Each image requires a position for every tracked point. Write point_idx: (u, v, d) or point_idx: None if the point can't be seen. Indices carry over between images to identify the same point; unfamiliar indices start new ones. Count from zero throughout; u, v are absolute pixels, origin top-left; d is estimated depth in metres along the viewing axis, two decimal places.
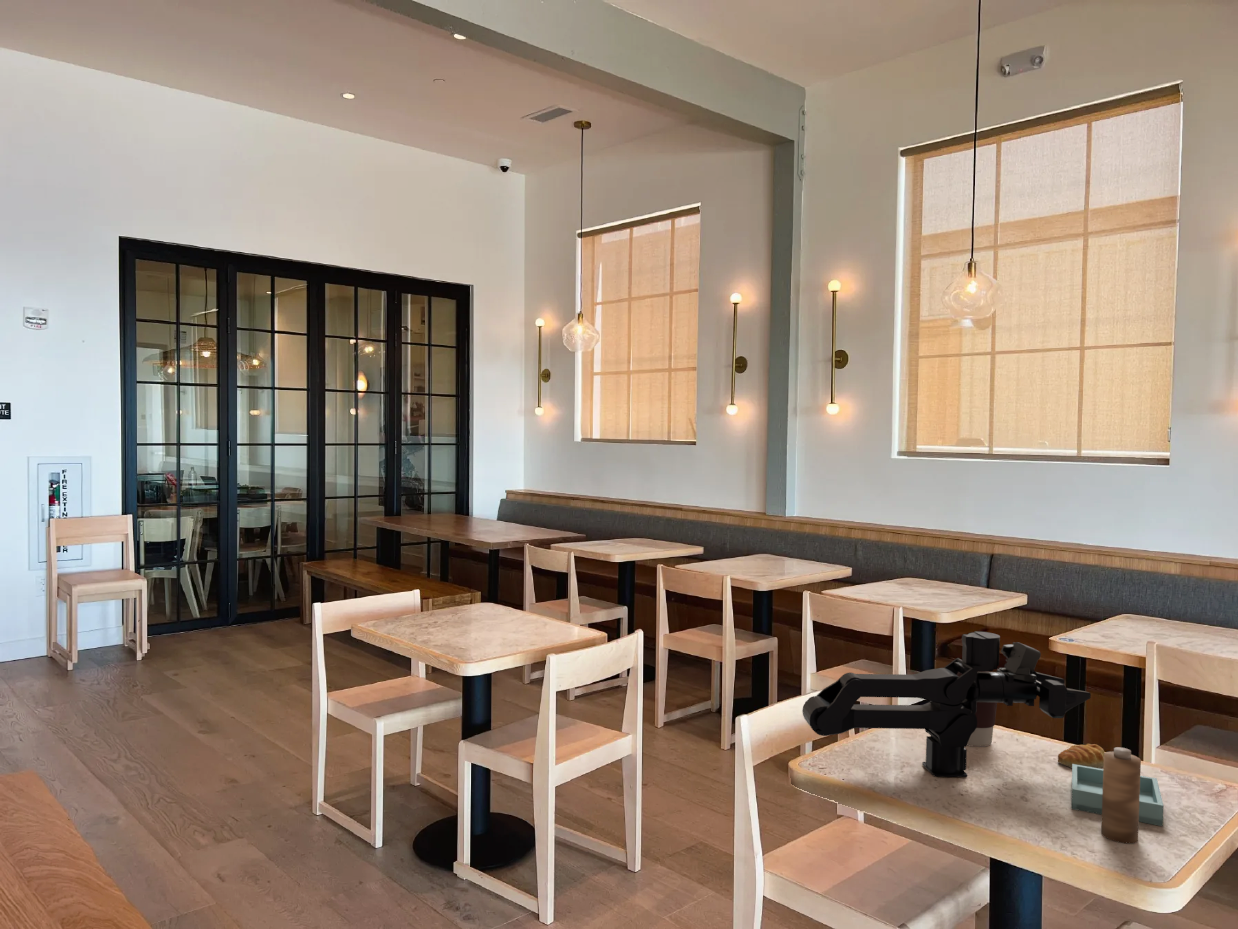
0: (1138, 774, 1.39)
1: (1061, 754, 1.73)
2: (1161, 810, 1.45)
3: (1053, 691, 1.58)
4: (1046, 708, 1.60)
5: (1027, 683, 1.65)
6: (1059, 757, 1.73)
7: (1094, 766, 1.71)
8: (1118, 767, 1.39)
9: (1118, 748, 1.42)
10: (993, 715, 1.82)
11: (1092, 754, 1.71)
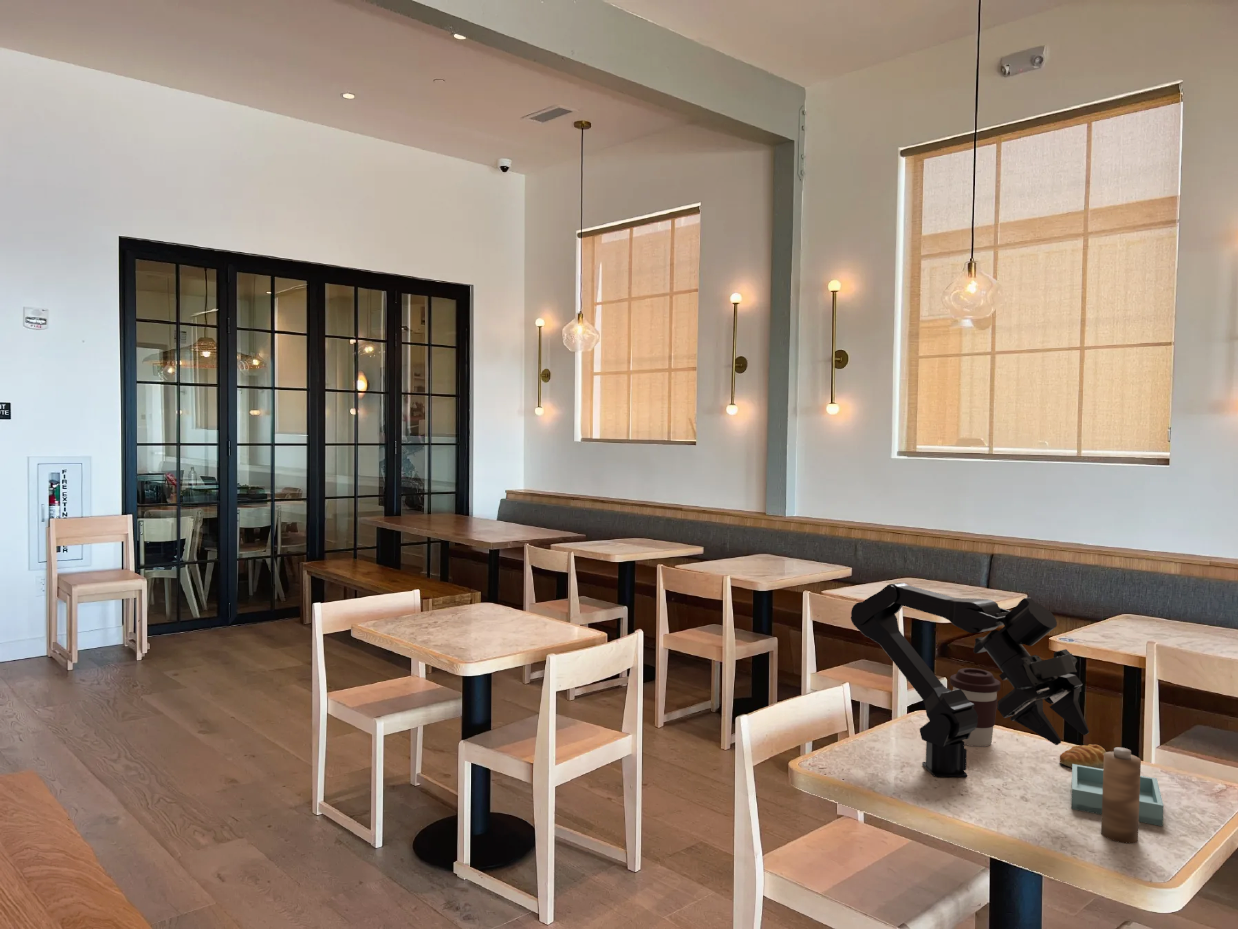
0: (1138, 774, 1.39)
1: (1063, 754, 1.73)
2: (1161, 810, 1.45)
3: (1014, 692, 1.46)
4: None
5: (1029, 680, 1.51)
6: (1061, 758, 1.72)
7: (1096, 767, 1.70)
8: (1118, 767, 1.39)
9: (1118, 748, 1.42)
10: (993, 715, 1.82)
11: (1094, 755, 1.71)
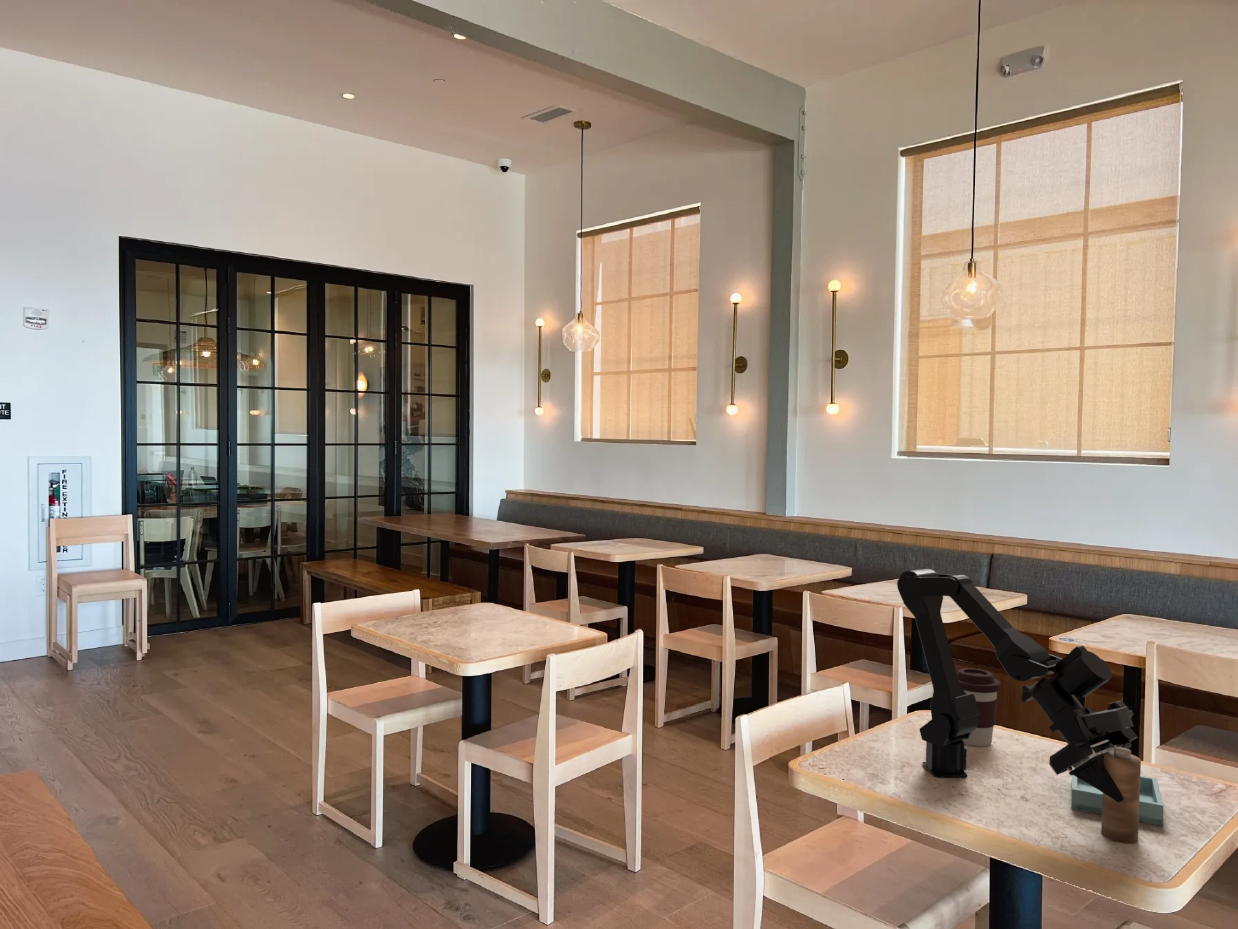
0: (1138, 774, 1.39)
1: None
2: (1161, 810, 1.45)
3: (1068, 748, 1.39)
4: (1054, 754, 1.42)
5: (1082, 734, 1.44)
6: None
7: None
8: (1119, 767, 1.39)
9: (1118, 748, 1.42)
10: (993, 715, 1.82)
11: None
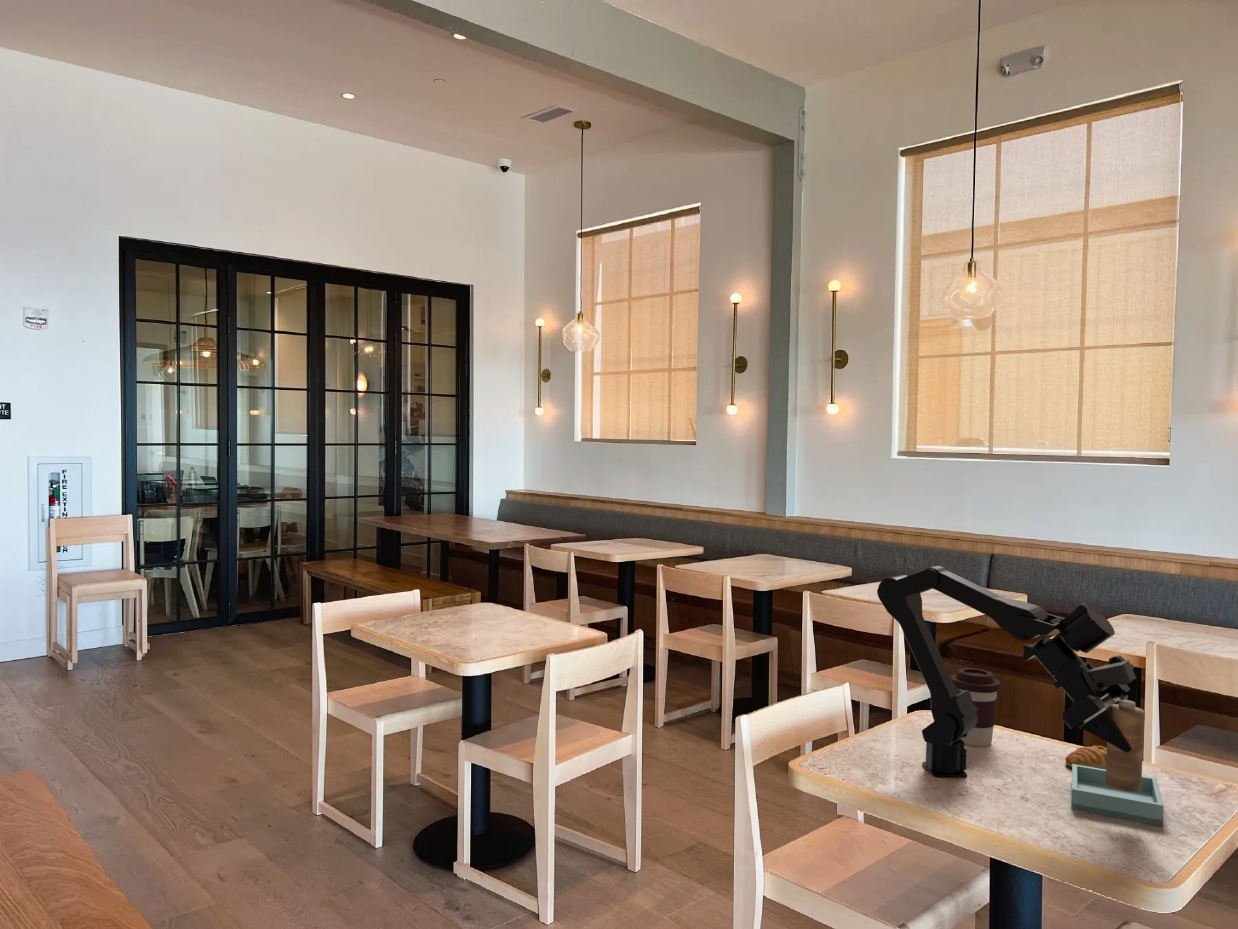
0: (1143, 724, 1.44)
1: (1069, 756, 1.72)
2: (1161, 810, 1.45)
3: (1084, 702, 1.42)
4: (1067, 709, 1.45)
5: (1089, 689, 1.48)
6: (1067, 760, 1.71)
7: (1102, 768, 1.70)
8: (1127, 718, 1.43)
9: (1122, 700, 1.46)
10: (993, 715, 1.82)
11: (1100, 756, 1.70)
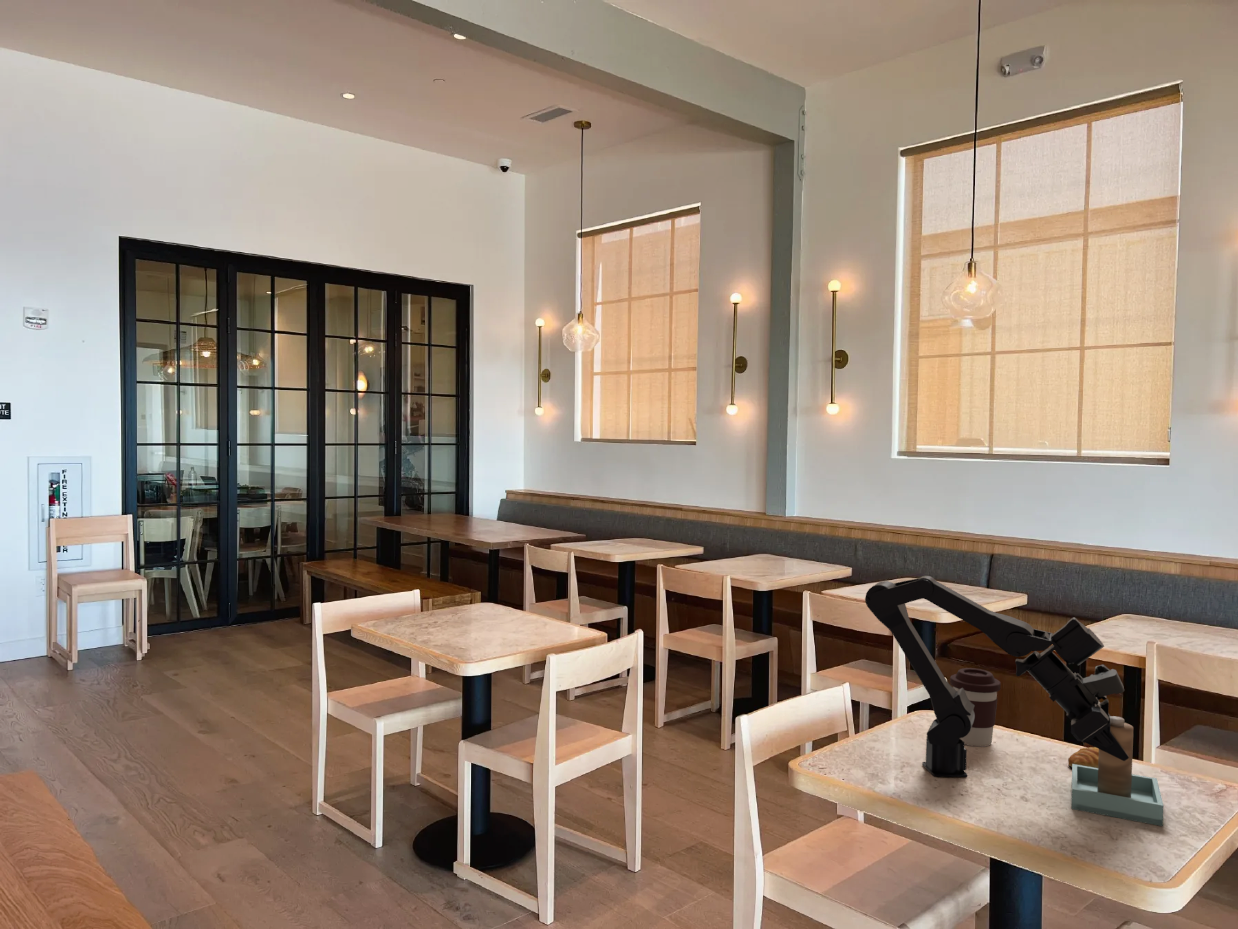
0: (1132, 738, 1.53)
1: (1072, 757, 1.71)
2: (1161, 810, 1.45)
3: (1093, 715, 1.48)
4: (1074, 722, 1.50)
5: (1084, 699, 1.54)
6: (1070, 761, 1.71)
7: None
8: (1121, 735, 1.51)
9: (1111, 717, 1.54)
10: (993, 715, 1.82)
11: None
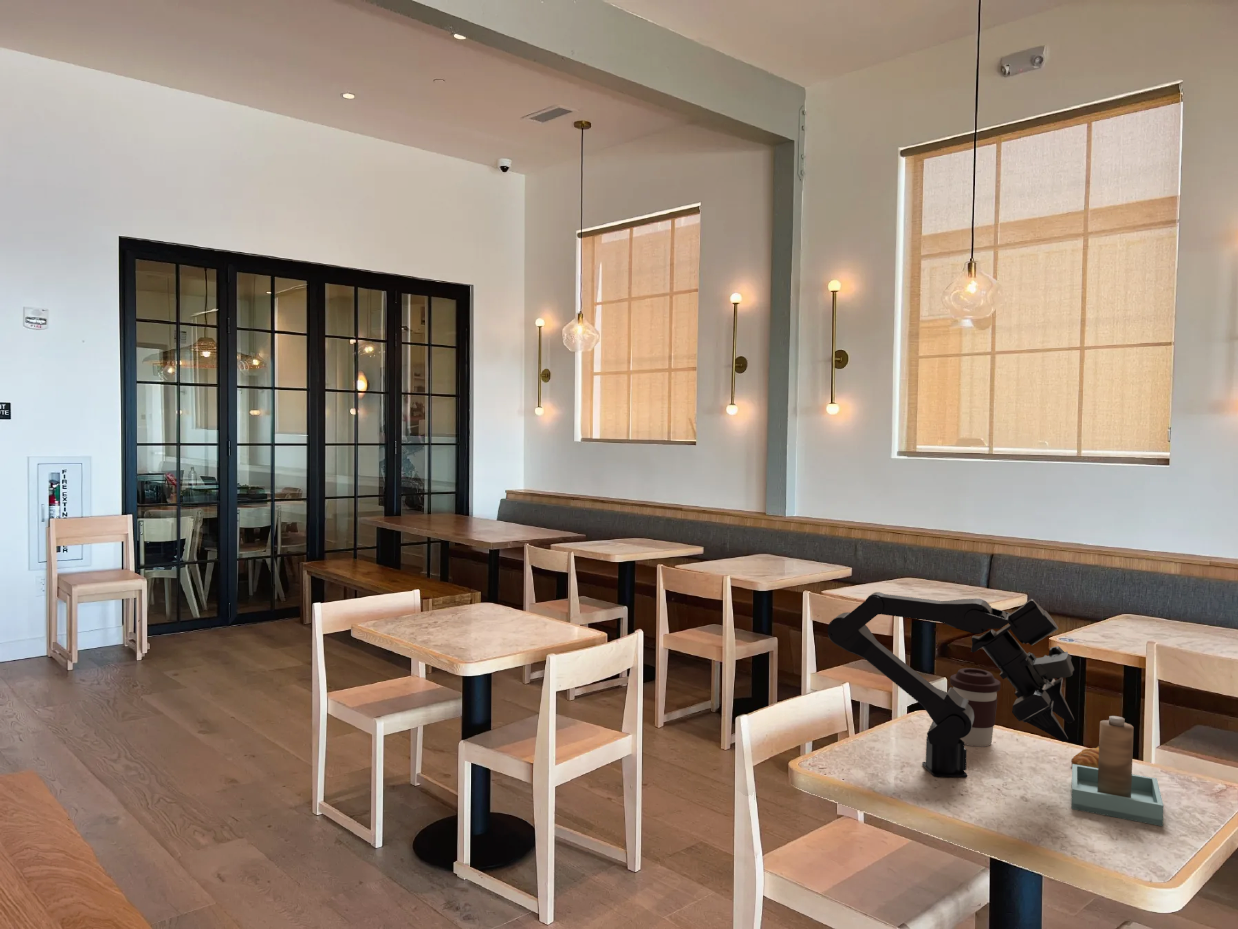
0: None
1: (1075, 758, 1.71)
2: (1161, 810, 1.45)
3: (1034, 698, 1.52)
4: (1016, 702, 1.55)
5: (1033, 680, 1.58)
6: (1073, 762, 1.70)
7: None
8: (1121, 734, 1.52)
9: (1111, 717, 1.55)
10: (993, 715, 1.82)
11: None
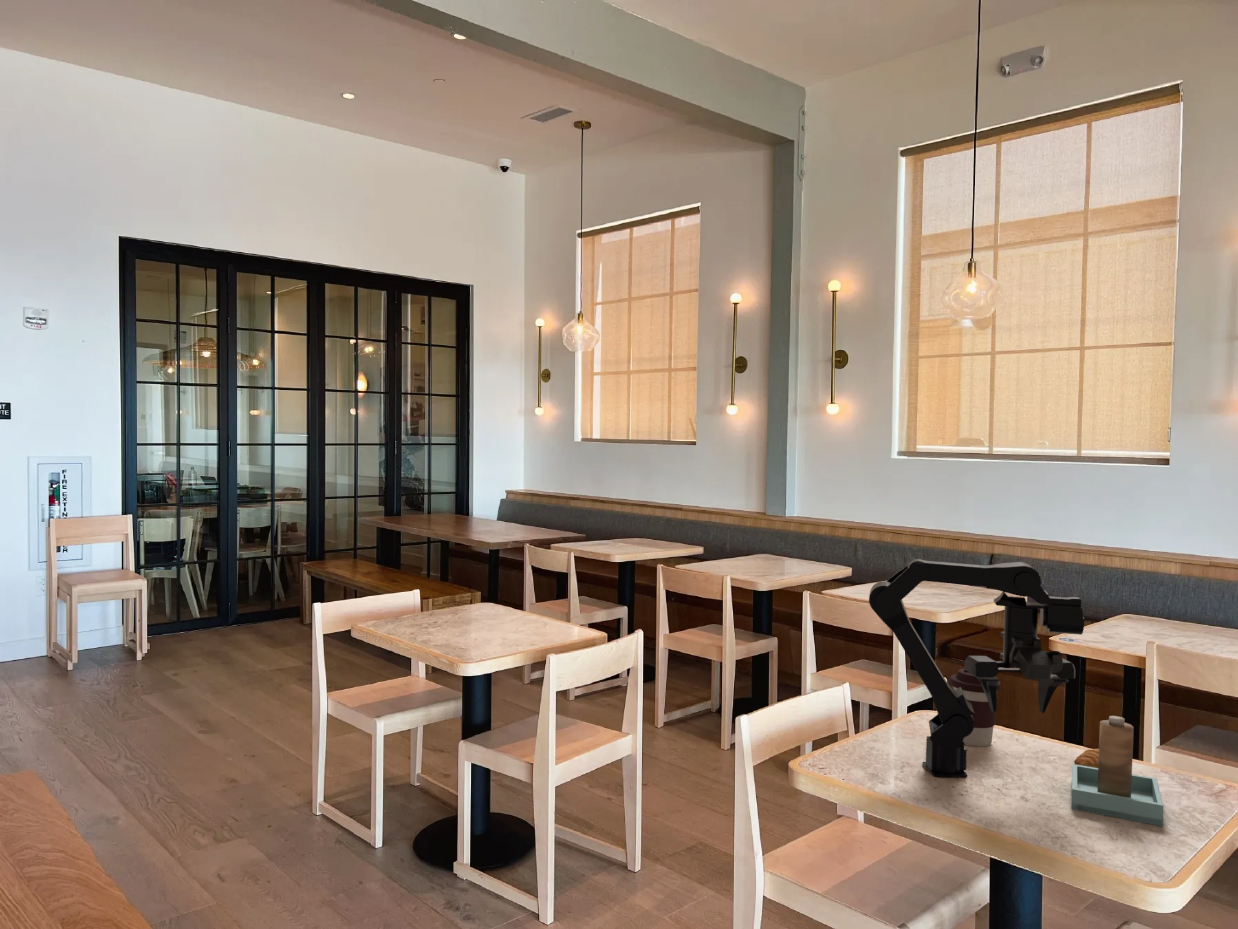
0: None
1: (1079, 759, 1.70)
2: (1161, 810, 1.45)
3: (975, 664, 1.61)
4: (973, 656, 1.65)
5: None
6: (1077, 763, 1.70)
7: None
8: (1121, 734, 1.52)
9: (1111, 716, 1.55)
10: (993, 715, 1.82)
11: None
